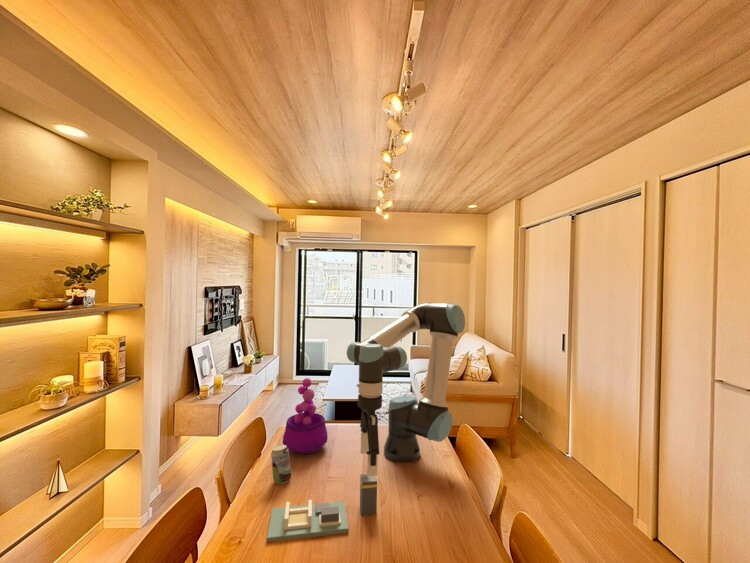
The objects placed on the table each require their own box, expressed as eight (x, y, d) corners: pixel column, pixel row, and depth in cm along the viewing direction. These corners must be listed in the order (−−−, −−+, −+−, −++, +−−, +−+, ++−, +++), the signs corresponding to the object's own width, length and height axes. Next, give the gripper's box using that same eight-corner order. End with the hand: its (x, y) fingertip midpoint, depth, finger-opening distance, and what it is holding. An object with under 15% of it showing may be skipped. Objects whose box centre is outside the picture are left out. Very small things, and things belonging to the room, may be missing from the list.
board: (344, 505, 104) (344, 491, 104) (348, 532, 92) (348, 517, 92) (272, 512, 100) (272, 498, 100) (266, 542, 88) (267, 526, 88)
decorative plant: (336, 449, 140) (337, 378, 141) (298, 465, 127) (300, 387, 128) (310, 435, 154) (312, 370, 155) (274, 448, 141) (276, 377, 141)
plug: (373, 504, 105) (374, 472, 105) (376, 514, 100) (377, 481, 100) (359, 506, 104) (360, 474, 104) (361, 516, 99) (362, 482, 100)
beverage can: (286, 487, 113) (287, 452, 113) (266, 484, 114) (267, 450, 114) (294, 477, 119) (295, 444, 119) (275, 475, 120) (276, 441, 121)
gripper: (353, 383, 115) (351, 445, 114) (364, 408, 90) (362, 487, 89) (374, 383, 116) (372, 444, 115) (391, 407, 91) (389, 485, 91)
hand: (368, 463), depth 102 cm, fingers open, 13 cm apart
